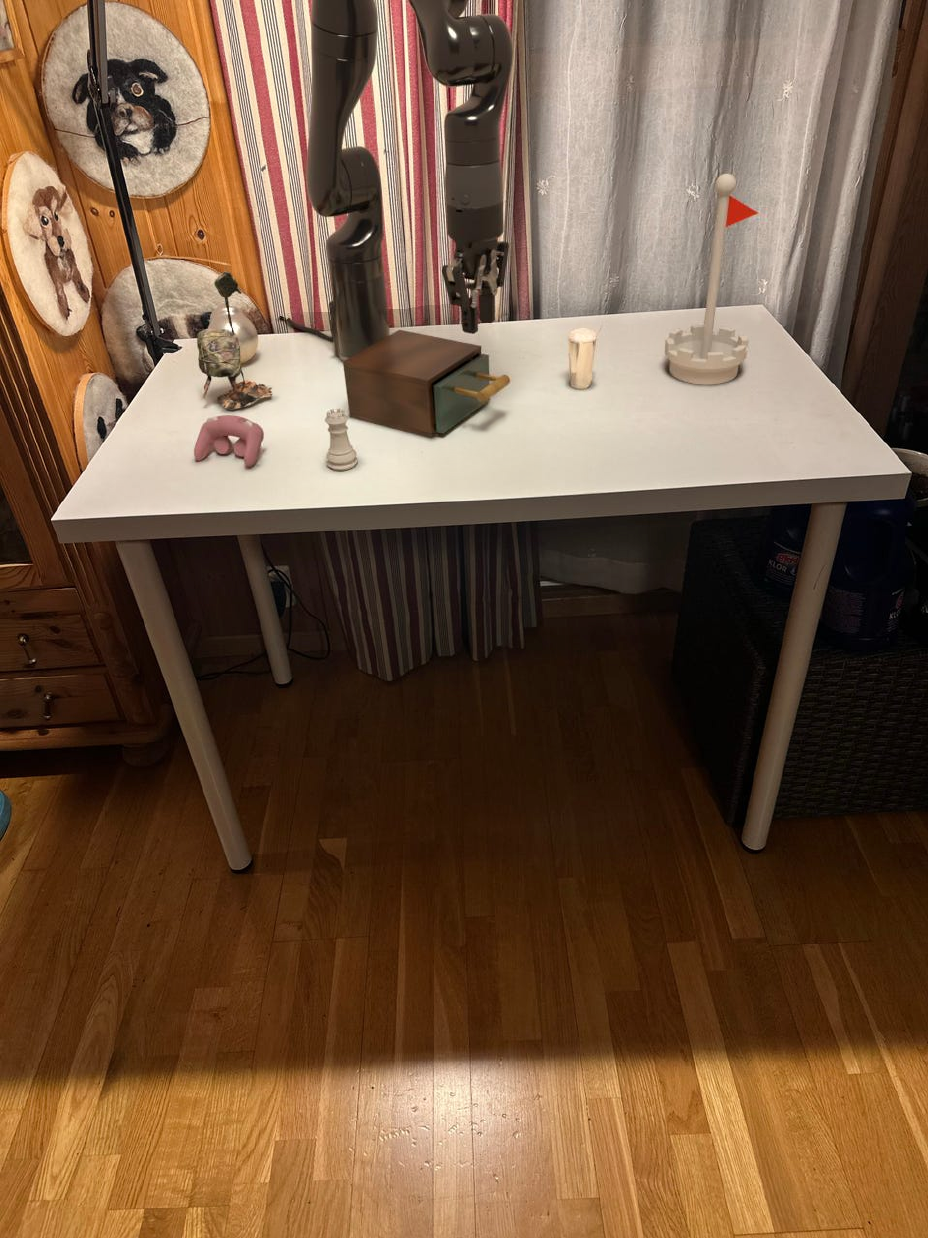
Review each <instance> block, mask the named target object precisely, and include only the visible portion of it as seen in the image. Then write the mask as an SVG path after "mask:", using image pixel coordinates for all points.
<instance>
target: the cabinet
mask: <svg viewBox="0 0 928 1238" xmlns="http://www.w3.org/2000/svg"><path fill="white" fill-rule="evenodd" d="M482 350H483V349H482V345H479V344H472V343H469V342H463V341H458V340H453V339H448V338H443V337H439V336H433V335H427V334H423V333H418V332H413V331H408V330H402V329H397V330H396V331H394V332H393V333H390V335H389V336H387V337H385V338H384V339H382V340H380V341H378V342H377V343H375V344H373V345H371V346H369V347H368V348H366V349H364V350H362V351H361V352H359V353H357V354H355V355H353V356H352V357H350V358H348V359H346V360H345V361H342V366H343V374H344V375H343V376H344V382H345V388H346V397H347V398H346V399H347V406H348V413H349V417H350V418H351V419H357V420H360V421H363V422H368V423H371V424H376V425H378V426H382V427H385V428H386V427H387V428H390V429H395V430H398V431H402V432H406V433H410V434H413V435H418V436H421V437H425V438H429V439H433V438H434V437H436V436H437V435H438V434H440V433H439V432H437V429H436V424H434V420H433V406H432V392H431V383H433V382H434V381H436V380H437V379H439V378H441V377H442V376H444V375H445V374H447V373H448V372H450V371H451V370H453V369H454V368H456V367H457V366H459V365H460V364H462V363H464V362H465V361H467V360H468V359H470V358H471V357H473V360H474V359H475V358H477V357H478V356H480V355H481V354H483V353H482Z"/></svg>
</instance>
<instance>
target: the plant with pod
mask: <svg viewBox="0 0 928 1238" xmlns="http://www.w3.org/2000/svg"><path fill="white" fill-rule="evenodd" d="M213 284H214V286H215V288H216V290H217V292H218V293H219V295H220V296H221V297H222V298H224V304H226V308H227V312H228V319H229V323H230V327H231V331H230V330H229V329H227V330H226V329H221V330H218V329H208V328H205V329H203V330H201V331H199V332H198V333H197V334H196V346H197V349H198V367H199V370H200V371H201V373H202V374H205V375H206V377H207V378H206V380H205V384H204V385H203V392H202V396H201V399H205V397H206V395H207V393H208V390H209V389H210V385H211V383H212V379H213V378H227V379H228V381H229V383H230V386H231V389H229V390H228V391H227V392H224V393H221V394H219V395H218V396H217V402H218V403H219V404H220V406H221V407H222V408H223V409H225V410H227V411H228V410H230V411H232V410H237V409H242V408H244V407H247V406H251V405H253V404H255V403H256V402H257V401H259V400H263V398H271V397H273V391H271V390H272V387H267V386H266V384H263V383H259V384H257V382H256V381H251V380H249V379H247V380H245V376H244V373H243V368H242V364H241V361H240V359H241V356H240V342H239V341H238V337H237V336H236V334H235V333H234V329H233V326H232V322H231V316H230V311H229V310H230V309H229V306H230V303H229V298H230V297H232V296H233V294H235V293H237V294H239V295H242V293H243V292H242V291H241V290H240V289H239V288H238V287H239V283H238V282H237V279H235V277H234V276H233V274H231V272H229V270H228V271H227V270H224V271H223V272H222V273H220V274H219V275H218V276H217V277H216V279H215V280H214V281H213ZM194 330H195V331H197V330H198V328H195V329H194ZM240 375H241V377H242V381H240V382H237V381H236V380H237V377H239V376H240ZM212 377H213V378H212Z"/></svg>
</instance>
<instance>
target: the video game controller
mask: <svg viewBox="0 0 928 1238" xmlns="http://www.w3.org/2000/svg"><path fill="white" fill-rule="evenodd" d="M230 437H235V438H238V439H237V440H236V441H235V443H234V444H233V443H232V441H231V439H230ZM264 438H265V433H264V429H263V428H262V426H261V425H259V424H258V423H256V422H253V421H251V420H250V419H249V418H246V417H243V416H240V415H234V414H226V415H225V414H222V415H217V416H212V417H208V418H207V419H206V420H205V422H204V423H202V425H201V427H200V431H199V433H198V436H197V439H196V442H195V444H194V448H193V456H194V459H196V461H197V462H201V461H203V460H204V459H205V458H206V457H207V455H208V453H209V452H210V450H211V448H212V446H214V449H215V450H216V452H217V453H218V454H220V455H227V454H229V453H231V452H232V450H233V451H234V453H235V455H237V456H238V457H243V462H244V465H245V467H247V468H252V467H253V466H254V465H255V463H257V460H258V458H259V455H260V451H261V446H262V443H263V441H264Z"/></svg>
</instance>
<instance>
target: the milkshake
mask: <svg viewBox="0 0 928 1238" xmlns="http://www.w3.org/2000/svg"><path fill="white" fill-rule="evenodd" d="M602 327H603V325H601V326H600V328H599V330H598V332H597V334H596V332H595V331H594V330H593V329H589V328H587V327H579V328H574V329H572V330H570V332H569V333H568V335H567V348H568V363H569V365H568V366H569V383H570V384H569V385H570V386H571V388H573V389H580V390H584V389H588V388H589V387H590V386H592V378H593V368H594V359H595V352H596V345H597V338H598V335H599V334H600V331H601V329H602Z"/></svg>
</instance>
